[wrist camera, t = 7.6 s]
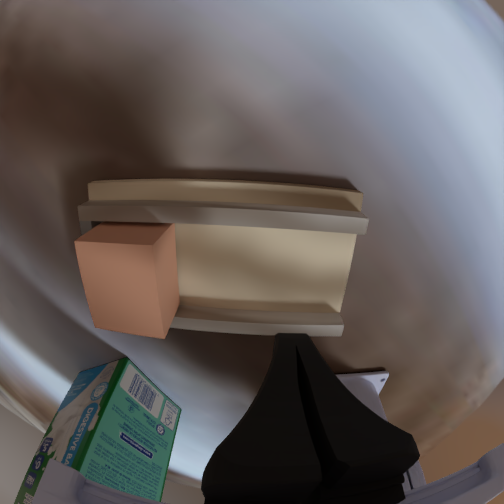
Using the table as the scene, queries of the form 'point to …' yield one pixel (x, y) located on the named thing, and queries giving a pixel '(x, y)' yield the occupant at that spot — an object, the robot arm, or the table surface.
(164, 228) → the block
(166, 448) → the milk carton
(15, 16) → the table surface
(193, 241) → the chute
